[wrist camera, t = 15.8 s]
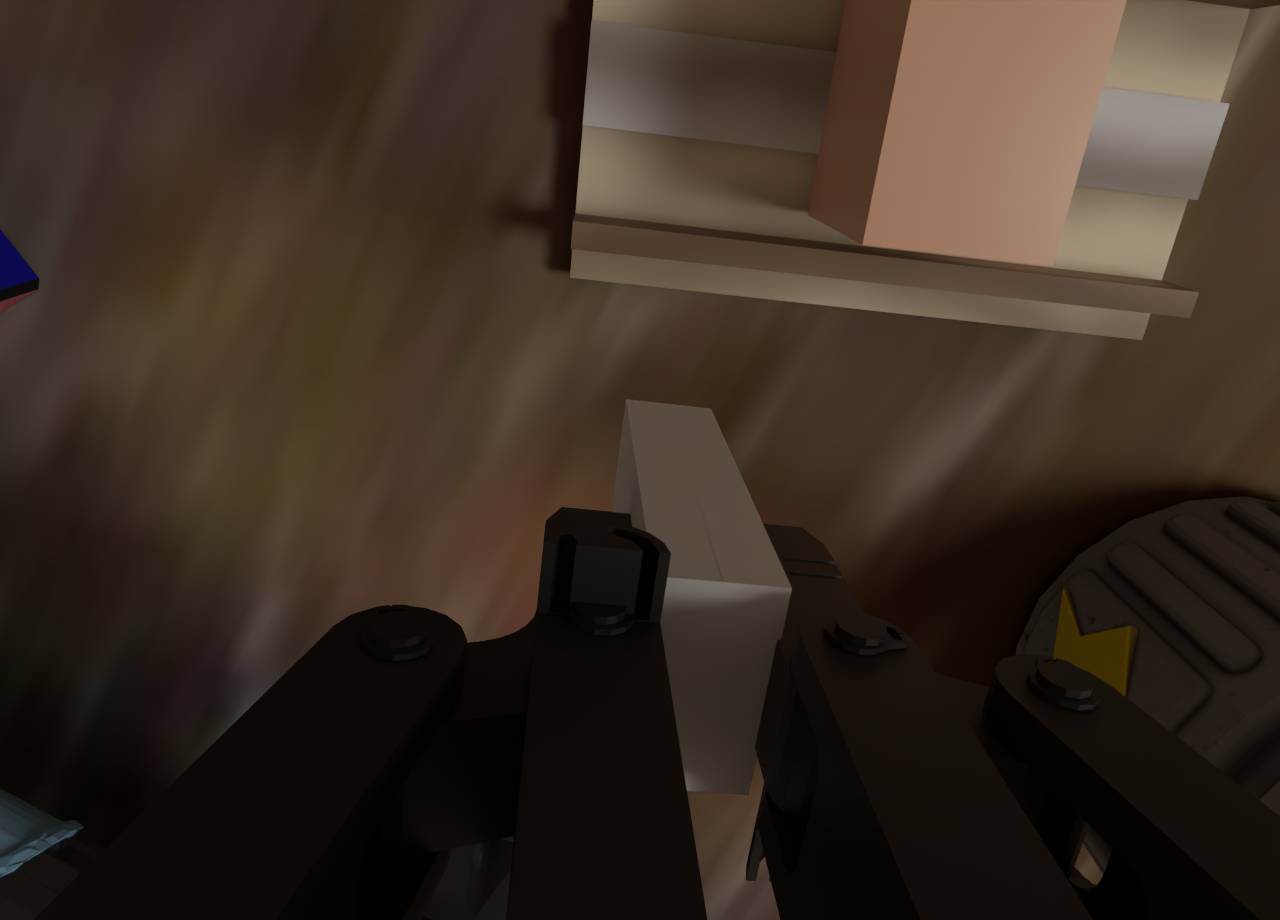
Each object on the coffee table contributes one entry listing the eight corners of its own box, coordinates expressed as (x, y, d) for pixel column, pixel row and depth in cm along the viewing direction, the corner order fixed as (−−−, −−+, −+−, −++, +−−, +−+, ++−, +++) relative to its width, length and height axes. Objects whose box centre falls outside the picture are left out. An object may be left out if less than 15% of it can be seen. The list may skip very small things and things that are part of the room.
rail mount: (1126, 333, 38) (1177, 355, 35) (571, 272, 37) (567, 289, 33) (1253, -63, 33) (1328, -82, 30) (607, -156, 31) (607, -188, 28)
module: (957, 232, 35) (1052, 266, 27) (807, 215, 34) (862, 245, 27) (1014, -5, 32) (1137, -38, 24) (850, -27, 31) (925, -68, 24)
